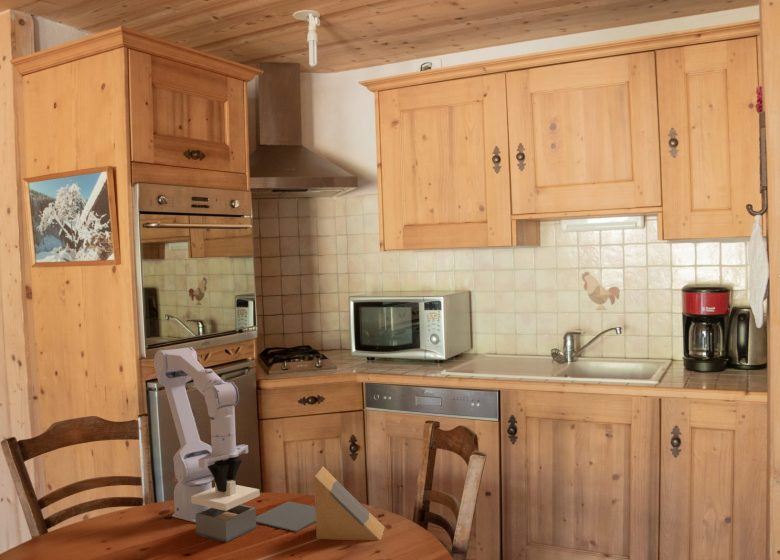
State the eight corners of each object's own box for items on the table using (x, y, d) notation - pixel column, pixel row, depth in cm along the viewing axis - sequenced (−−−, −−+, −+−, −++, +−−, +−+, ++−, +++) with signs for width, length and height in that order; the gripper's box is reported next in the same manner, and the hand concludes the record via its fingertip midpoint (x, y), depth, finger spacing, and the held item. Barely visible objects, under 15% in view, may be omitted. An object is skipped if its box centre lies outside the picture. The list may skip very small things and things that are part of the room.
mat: (249, 521, 176) (249, 519, 176) (288, 502, 189) (288, 501, 189) (296, 532, 168) (296, 530, 168) (333, 512, 181) (333, 510, 181)
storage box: (196, 534, 168) (195, 514, 168) (226, 520, 177) (225, 501, 177) (226, 542, 163) (225, 521, 163) (256, 528, 171) (255, 507, 171)
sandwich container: (381, 541, 162) (379, 477, 161) (316, 539, 164) (314, 476, 163) (385, 527, 170) (384, 465, 170) (323, 525, 172) (322, 465, 172)
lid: (191, 503, 168) (190, 483, 167) (225, 489, 177) (225, 470, 177) (225, 510, 162) (225, 491, 161) (259, 495, 171) (259, 477, 171)
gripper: (212, 442, 161) (215, 501, 161) (256, 428, 173) (258, 483, 173) (191, 439, 164) (193, 496, 165) (235, 426, 177) (237, 479, 177)
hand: (225, 489), depth 169 cm, fingers closed on lid, 2 cm apart
